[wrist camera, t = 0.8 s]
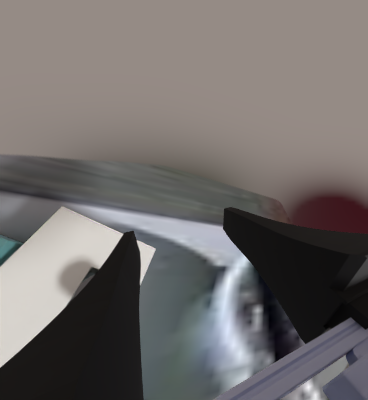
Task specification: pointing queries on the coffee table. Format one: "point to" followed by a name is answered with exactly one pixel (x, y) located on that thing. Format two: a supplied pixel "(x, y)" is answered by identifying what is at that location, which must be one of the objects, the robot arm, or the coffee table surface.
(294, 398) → the coffee table surface
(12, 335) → the housing
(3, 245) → the block
